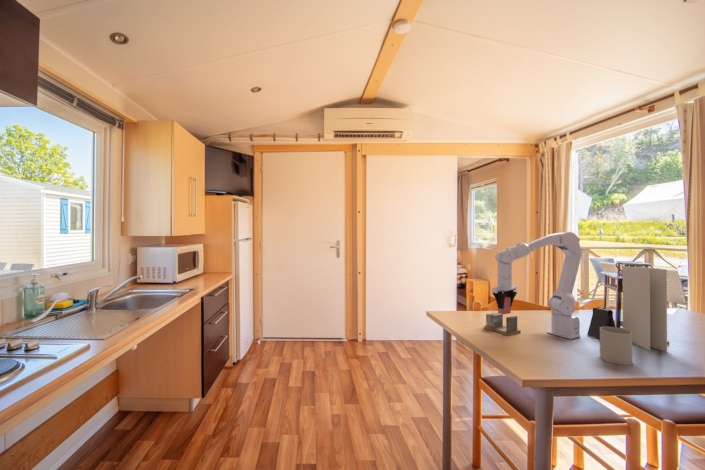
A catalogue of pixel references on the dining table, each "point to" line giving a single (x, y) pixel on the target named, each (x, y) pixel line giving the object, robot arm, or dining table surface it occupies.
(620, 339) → the cup
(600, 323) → the door stopper
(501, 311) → the burgundy book
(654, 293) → the brochure
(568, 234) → the robot arm
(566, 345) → the dining table surface
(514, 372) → the dining table surface
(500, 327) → the grey slotted block
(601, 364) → the dining table surface
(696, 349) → the dining table surface
